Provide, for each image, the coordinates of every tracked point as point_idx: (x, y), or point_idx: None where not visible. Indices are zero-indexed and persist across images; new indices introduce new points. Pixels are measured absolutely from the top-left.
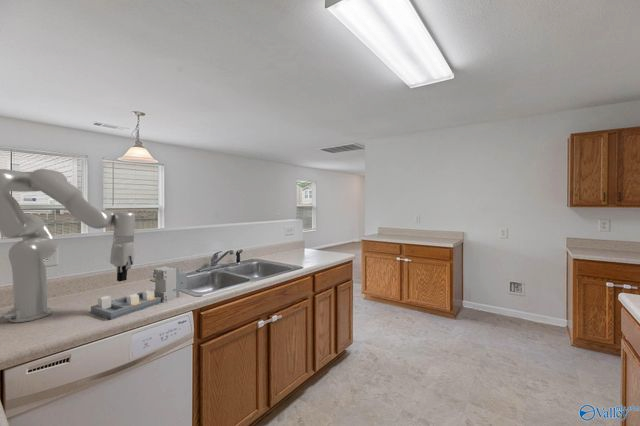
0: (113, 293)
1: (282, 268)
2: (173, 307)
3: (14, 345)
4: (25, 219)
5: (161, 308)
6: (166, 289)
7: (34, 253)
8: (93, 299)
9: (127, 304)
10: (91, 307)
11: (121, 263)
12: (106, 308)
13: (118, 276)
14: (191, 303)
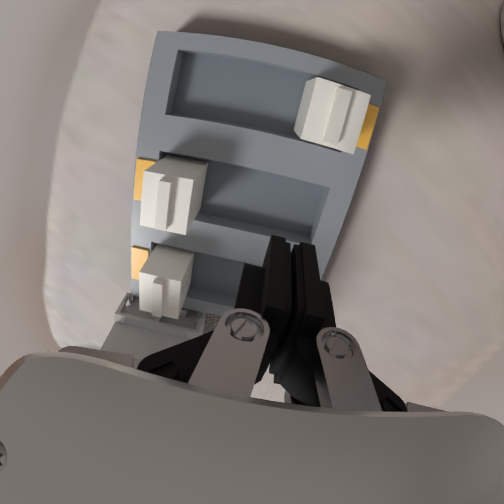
0: (454, 315)
1: None
2: (55, 246)
3: None
4: None
5: (80, 224)
6: (111, 334)
7: None
8: (488, 243)
9: (198, 164)
10: (379, 78)
11: (19, 407)
12: (300, 104)
13: (285, 269)
14: (45, 292)
